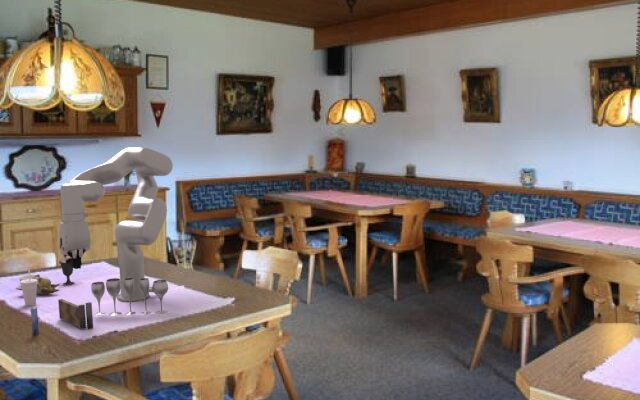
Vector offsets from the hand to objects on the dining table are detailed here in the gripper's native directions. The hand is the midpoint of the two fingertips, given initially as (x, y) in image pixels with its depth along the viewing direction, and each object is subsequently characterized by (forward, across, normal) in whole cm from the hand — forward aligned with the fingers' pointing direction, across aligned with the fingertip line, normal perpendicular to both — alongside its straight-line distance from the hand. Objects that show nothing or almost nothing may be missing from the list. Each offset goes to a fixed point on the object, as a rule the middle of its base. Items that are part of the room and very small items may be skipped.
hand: (76, 268), depth 230 cm
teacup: (+19, -7, -60) cm, 63 cm away
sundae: (+19, -20, -51) cm, 58 cm away
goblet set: (+19, -16, +9) cm, 26 cm away
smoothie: (+19, +5, -32) cm, 37 cm away
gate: (+18, +5, +4) cm, 19 cm away
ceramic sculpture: (+19, -5, -44) cm, 49 cm away
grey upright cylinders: (+19, +10, +9) cm, 23 cm away
